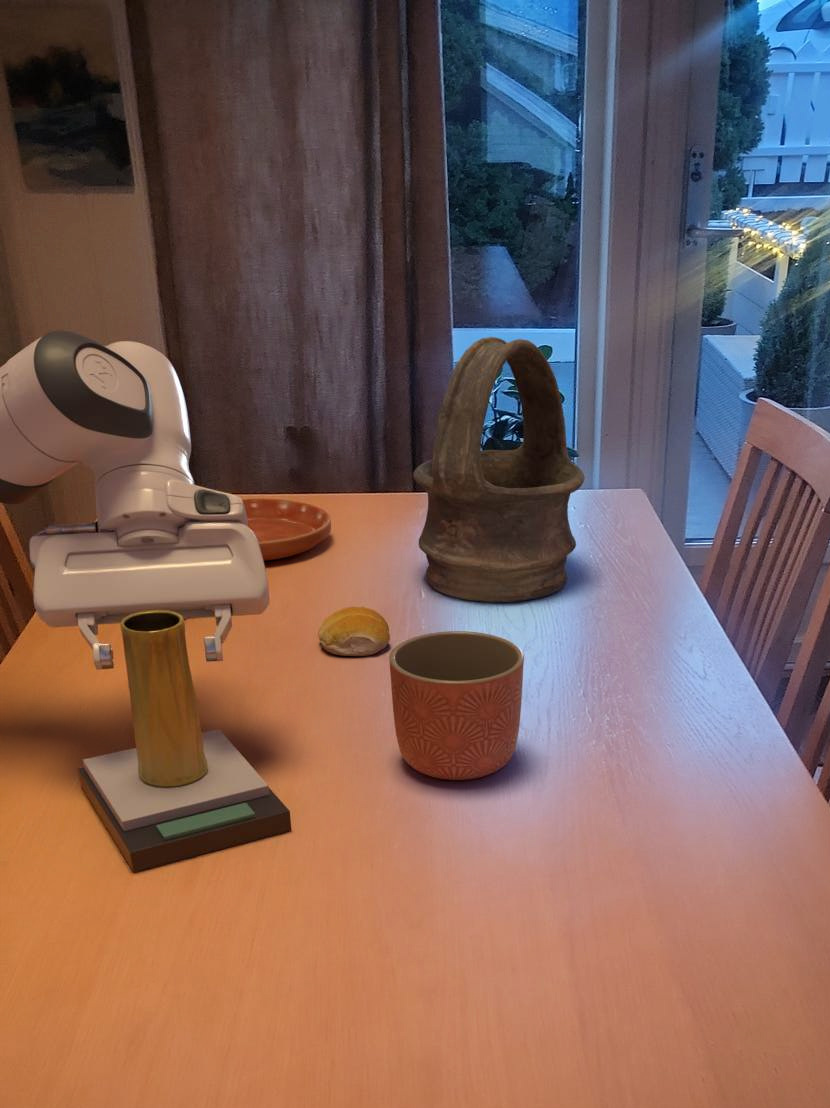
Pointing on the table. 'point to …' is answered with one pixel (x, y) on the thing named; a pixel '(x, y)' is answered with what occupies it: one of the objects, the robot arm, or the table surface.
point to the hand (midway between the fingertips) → (159, 663)
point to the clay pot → (499, 484)
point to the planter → (457, 702)
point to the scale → (182, 806)
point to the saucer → (286, 526)
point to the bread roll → (354, 632)
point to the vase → (162, 699)
